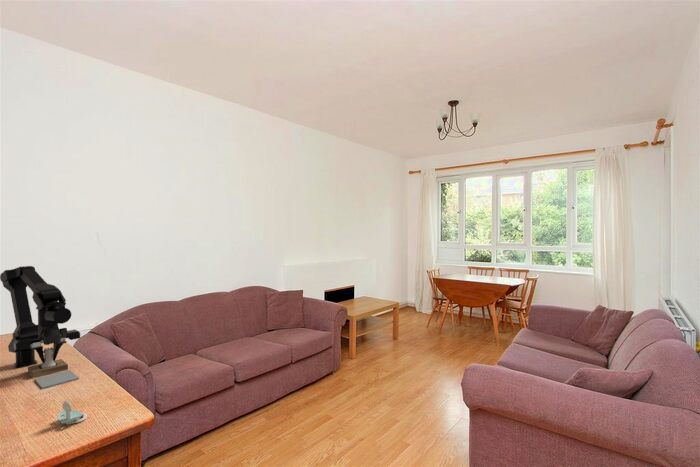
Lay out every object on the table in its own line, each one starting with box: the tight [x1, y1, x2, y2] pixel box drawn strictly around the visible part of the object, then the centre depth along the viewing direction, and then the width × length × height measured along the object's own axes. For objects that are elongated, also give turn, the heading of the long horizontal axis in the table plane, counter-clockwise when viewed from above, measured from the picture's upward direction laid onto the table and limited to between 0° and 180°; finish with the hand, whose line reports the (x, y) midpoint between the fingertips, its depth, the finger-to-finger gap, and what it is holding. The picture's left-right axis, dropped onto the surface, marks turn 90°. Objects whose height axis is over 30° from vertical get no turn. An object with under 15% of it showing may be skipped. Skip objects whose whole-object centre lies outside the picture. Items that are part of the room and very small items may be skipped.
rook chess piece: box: [41, 347, 56, 369], centre depth 133 cm, size 4×4×8 cm
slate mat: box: [34, 369, 80, 390], centre depth 124 cm, size 12×10×1 cm
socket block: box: [27, 358, 69, 379], centre depth 132 cm, size 10×10×2 cm
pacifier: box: [56, 399, 88, 425], centre depth 95 cm, size 7×6×6 cm
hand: (48, 361), depth 133 cm, fingers closed on rook chess piece, 3 cm apart
